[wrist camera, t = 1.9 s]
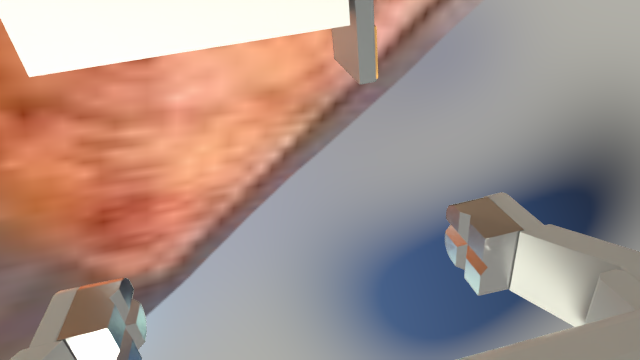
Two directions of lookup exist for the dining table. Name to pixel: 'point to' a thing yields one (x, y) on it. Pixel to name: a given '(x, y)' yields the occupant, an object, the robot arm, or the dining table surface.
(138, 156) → the dining table surface
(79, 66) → the white box with hole
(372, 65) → the side door
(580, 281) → the robot arm
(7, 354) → the dining table surface
